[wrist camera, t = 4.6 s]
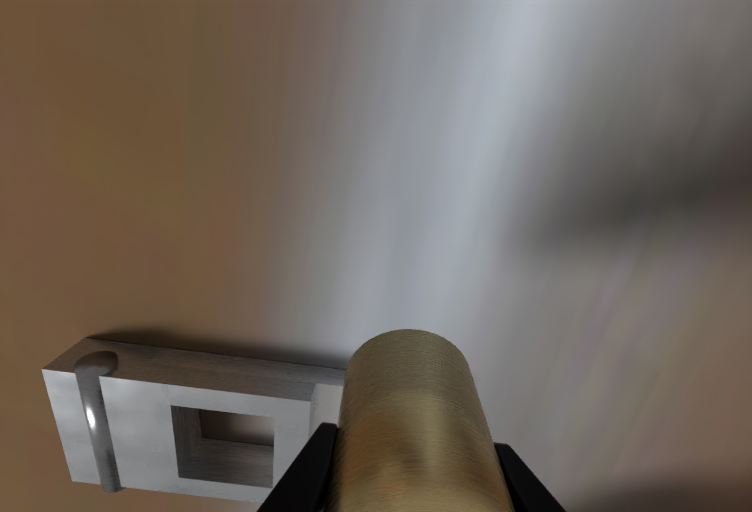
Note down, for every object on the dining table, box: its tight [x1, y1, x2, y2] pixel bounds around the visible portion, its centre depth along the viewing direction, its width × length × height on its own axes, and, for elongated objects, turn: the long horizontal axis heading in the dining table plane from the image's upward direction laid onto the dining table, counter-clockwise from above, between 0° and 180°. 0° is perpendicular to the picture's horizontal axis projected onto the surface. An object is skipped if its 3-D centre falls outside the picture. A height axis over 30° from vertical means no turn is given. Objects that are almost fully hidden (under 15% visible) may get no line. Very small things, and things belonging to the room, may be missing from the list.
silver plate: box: [42, 338, 346, 503], centre depth 23 cm, size 23×10×3 cm, turn 83°
